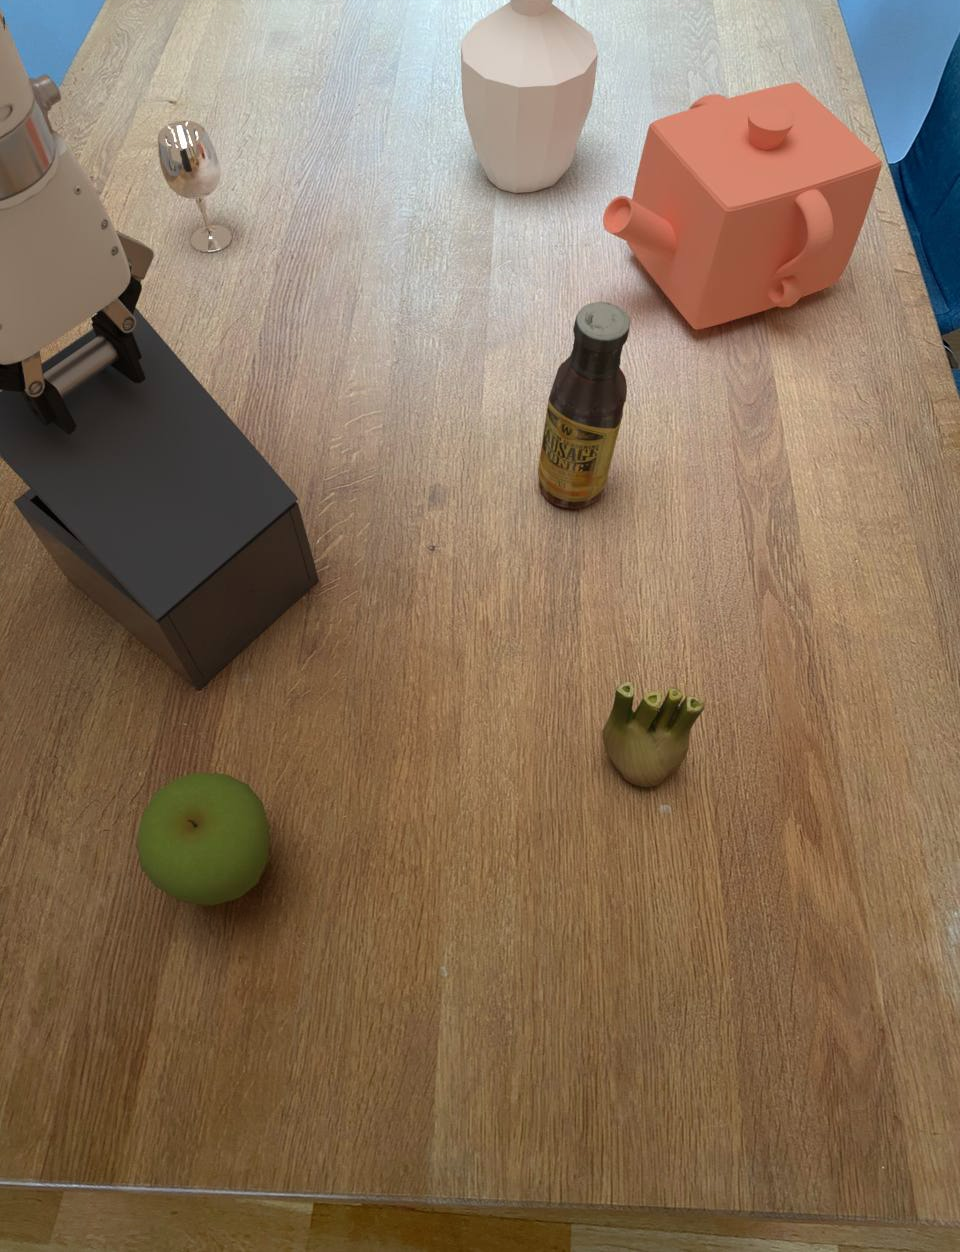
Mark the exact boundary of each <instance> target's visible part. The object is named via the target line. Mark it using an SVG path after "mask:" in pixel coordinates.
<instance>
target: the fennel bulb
mask: <svg viewBox="0 0 960 1252" xmlns="http://www.w3.org/2000/svg"><path fill="white" fill-rule="evenodd" d="M634 696H635V683H633V682H632V681H625V682H622V683H620V684H618V686H617V687H616V689H615V694H614V701H613V703H612V708H611V711H610V713H609V717H608V718H607V720H606V722H605V724H604V727H603V730H602V736H601V737H602V742H603V743H602V744H603V745H604V747H605V752H606V753H607V755H608V757H609V760H610V761H611V763H612V764H613V765H614V767H615V768H616V770H617V771H618V773H619V774H620V775H621V776H622V777H623V779H624V780H625V781H626V782H628V783H630V784H632V785H634V786H636V787H643V788H652V787H656V786H659V785H660V784H661V783H663V782H664V780H665V779H666V778H667V777H668V776H669V775H672V774H673V773H675V772H676V771H677V769H679V768H680V767H681V766H682V764H683V763H684V761H685V759H686V757H687V755H688V751H689V749H690V737H691V730H692V728H693V726H694V724H695V722H696V721H697V719H698V718H699V716H701V714H702V713H703V712H704V710H705V702H704V701H703V700H702V699H701V698H699V697H696V696H694V695H690V694H688V695H686V696H685V698H683V697H684V694H683V692H682V691H681V690H680V689H678V688H676V687H673V686H671V687H669V688H668V691H667V693H666V696H665V698H664V699H663V693H662V692H661V691H660V690H659V691H658V690H652V691H650V692H647V693H646V694H644V695H643V696H642V699H641V700H640V702H639V704H638V705H637V707H636V709H635V711H634V710H633V705H634V704H633V703H634ZM662 699H663V701H662ZM682 699H683V700H682ZM681 701H682V702H681Z"/></svg>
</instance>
